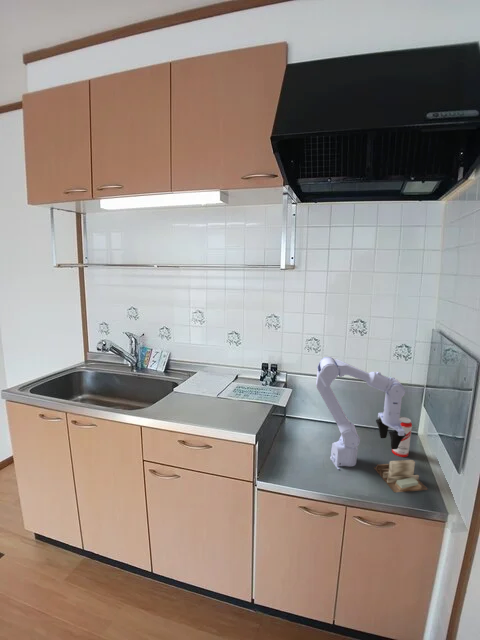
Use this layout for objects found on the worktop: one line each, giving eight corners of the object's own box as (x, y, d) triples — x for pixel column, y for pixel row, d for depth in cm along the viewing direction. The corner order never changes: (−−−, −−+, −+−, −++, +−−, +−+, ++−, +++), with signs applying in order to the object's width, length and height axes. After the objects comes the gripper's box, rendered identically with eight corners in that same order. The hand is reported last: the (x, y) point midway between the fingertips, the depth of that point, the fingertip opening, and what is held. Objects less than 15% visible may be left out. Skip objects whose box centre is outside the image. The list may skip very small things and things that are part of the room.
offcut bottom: (400, 490, 116) (400, 487, 116) (395, 485, 119) (395, 482, 119) (421, 489, 118) (421, 486, 117) (415, 483, 120) (415, 480, 120)
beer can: (409, 460, 136) (414, 424, 133) (393, 458, 137) (398, 422, 134) (405, 451, 142) (410, 416, 139) (389, 449, 143) (394, 415, 140)
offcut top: (401, 488, 116) (402, 485, 116) (396, 483, 118) (396, 480, 118) (417, 484, 118) (418, 481, 118) (412, 480, 120) (412, 477, 120)
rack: (394, 494, 116) (395, 487, 115) (372, 469, 129) (373, 462, 129) (428, 492, 118) (429, 484, 117) (403, 467, 131) (404, 460, 131)
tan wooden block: (390, 481, 121) (392, 463, 120) (387, 478, 123) (389, 461, 122) (412, 479, 123) (415, 462, 121) (410, 476, 124) (412, 459, 123)
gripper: (413, 419, 120) (409, 453, 123) (390, 401, 134) (387, 432, 137) (395, 420, 119) (392, 454, 122) (374, 402, 133) (371, 433, 136)
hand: (388, 443), depth 129 cm, fingers open, 7 cm apart
